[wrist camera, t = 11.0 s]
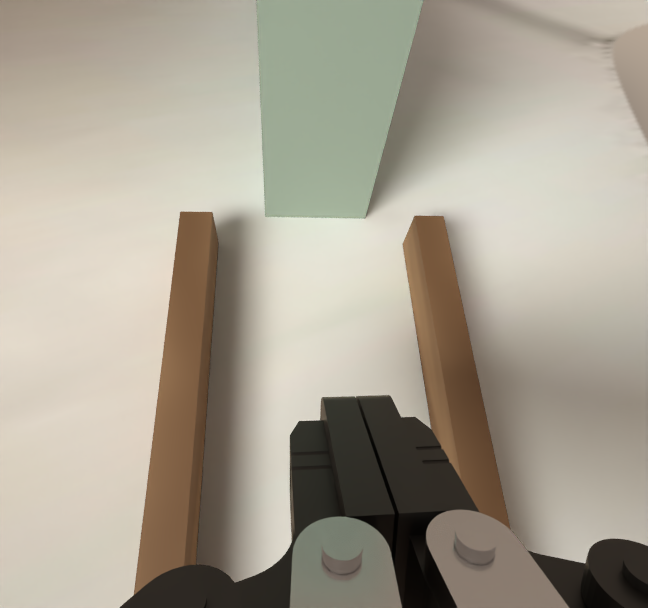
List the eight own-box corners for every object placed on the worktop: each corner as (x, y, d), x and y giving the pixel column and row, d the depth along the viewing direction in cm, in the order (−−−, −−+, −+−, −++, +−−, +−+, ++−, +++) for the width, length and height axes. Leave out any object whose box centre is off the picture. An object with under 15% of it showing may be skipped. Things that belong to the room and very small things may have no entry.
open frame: (87, 1199, 9) (40, 1364, 7) (189, 242, 19) (180, 211, 17) (591, 1102, 10) (659, 1224, 8) (429, 244, 20) (443, 216, 18)
